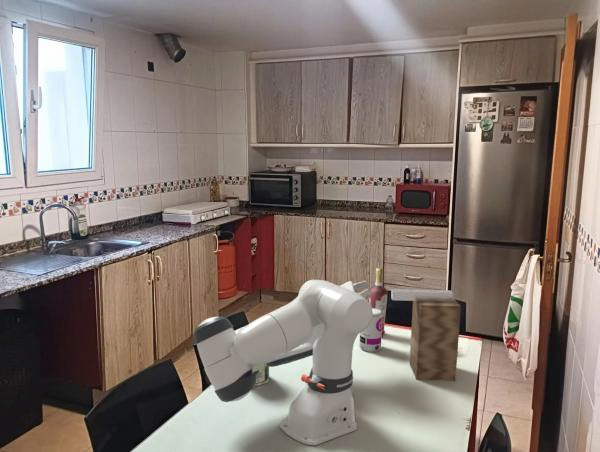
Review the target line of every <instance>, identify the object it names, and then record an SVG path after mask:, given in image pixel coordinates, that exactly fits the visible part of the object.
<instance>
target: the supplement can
mask: <svg viewBox="0 0 600 452" xmlns="http://www.w3.org/2000/svg"><path fill="white" fill-rule="evenodd" d="M382 336H383V335H382V313H381V311H380V310H379V309H376V308H372V319H371V322H370V324H369V326H368V327H367V328H366V329H365V330H364V331H363V332H361V333H359V345H358V346H359V347H360V349H361V350H362V351H364V352H368V353H377V352H378V351H379V350H380V349H382Z"/></svg>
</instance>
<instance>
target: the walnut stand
mask: <svg viewBox="0 0 600 452" xmlns="http://www.w3.org/2000/svg"><path fill="white" fill-rule="evenodd" d="M461 308H462V307H461V304H459V302H458V301H457V300H456V299H455V298H454V297H453V300H452V302H445V301H412V310H411V311H412V313H411V315H412V316H411V317H412V318H411V328H410V329H411V330H410V332H411V333H410V346H409V347H410V351H409V366H410V368H411V370H412V374H413V376H414V377H415V380H418V381H445V382H446V381H448V382H449V381H450V382H452V381H453V382H456V381H457V380H456V377H457V363H458V349H459V337H460V336H459V335H460V323H461Z"/></svg>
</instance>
